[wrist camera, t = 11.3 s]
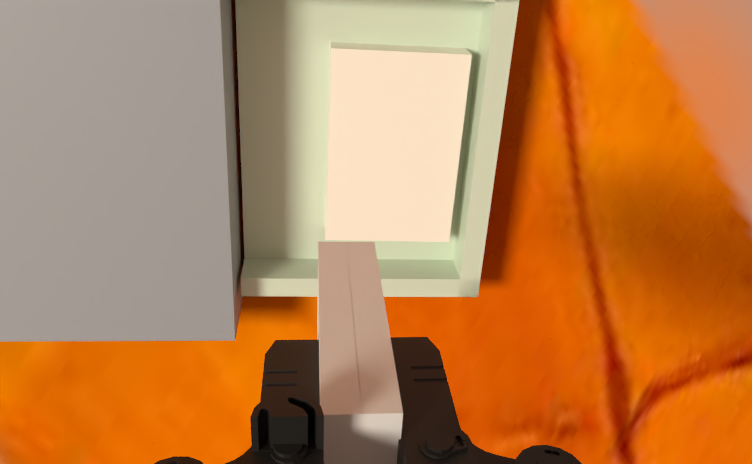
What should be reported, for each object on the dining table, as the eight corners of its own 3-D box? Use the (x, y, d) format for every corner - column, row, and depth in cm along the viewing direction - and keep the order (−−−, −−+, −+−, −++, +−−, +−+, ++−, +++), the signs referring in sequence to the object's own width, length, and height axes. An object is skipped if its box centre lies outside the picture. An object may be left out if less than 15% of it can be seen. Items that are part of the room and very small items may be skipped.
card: (471, 54, 29) (465, 48, 30) (331, 48, 28) (330, 41, 30) (449, 242, 33) (444, 229, 34) (325, 239, 32) (324, 227, 34)
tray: (235, -43, 28) (228, -38, 26) (506, -30, 29) (522, -24, 27) (245, 270, 35) (241, 296, 33) (467, 271, 36) (477, 296, 34)
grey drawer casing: (-140, -104, 26) (-212, -104, 23) (228, -83, 28) (216, -80, 24) (-40, 295, 34) (-81, 341, 31) (242, 295, 36) (235, 340, 32)
